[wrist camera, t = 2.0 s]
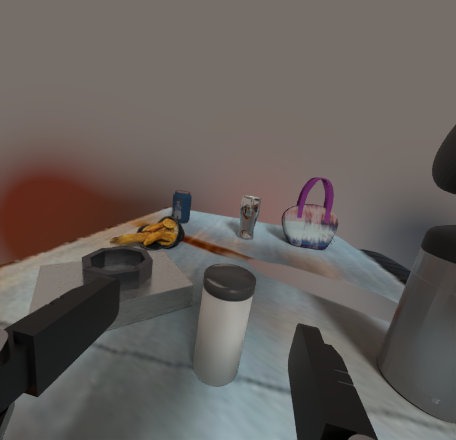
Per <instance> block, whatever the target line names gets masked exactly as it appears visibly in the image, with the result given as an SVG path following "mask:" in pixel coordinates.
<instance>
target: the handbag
mask: <svg viewBox="0 0 456 440" xmlns="http://www.w3.org/2000/svg"><path fill="white" fill-rule="evenodd" d="M320 179H321V180H322V181H323V185H324V189H325V202H324V207H322V206H318V205H313V204H305V201H306V197H307V195H308V193H309V191H310V189H311V188H312V187H313V186H314V184H315V183H316V182H317V181H318V180H320ZM326 180H327V179H325V178H312V179H310V180H309V181H308V182H307V183H306V184H305V186H304V187H303V189H302V191H301V193H300V196H299V199H298V202H297V206H293V207H291V208H289V209H287V210H286V211H285V212H284V213H283V216H282V226H283V231H284V234H285V236H286V238H287V239H288V240H289V242H290V243H291V244H293V245H295V246H299V247H306V248H312V249H318V250H324V249H326V248H327V247H328V245H329V244H330V242H331V241H332V239H333V237H334V235H335V233H336V230H337V227H338V219H337V218H336V216H335V215H334V214H333V213H332V212H331V209H332V204H333V187H332V184H331V182H330V181H329V180H327V181H328V182H327V181H326ZM328 184H329V185H328ZM333 240H334V239H333ZM331 244H332V243H331Z"/></svg>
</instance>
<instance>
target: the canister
mask: <svg viewBox="0 0 456 440" xmlns="http://www.w3.org/2000/svg"><path fill="white" fill-rule="evenodd" d="M255 285H256V278H255V276H254V275H253V274H252V273H251V272H250V271H248V270H247V269H245V268H242V267H240V266H236V265H232V264H216V265H212V266H210V267H208V268H207V269H206V270H205V273H204V280H203V291H202V299H201V306H200V313H199V321H198V328H197V336H196V343H195V351H194V358H193V369H194V372H195V374H196V376H197V377H198V378H199V379H200V380H201V381H202V382H203V383H205V384H207V385H210V386H216V387H219V386H224V385H227V384H229V383H230V382H232V381H233V380H234V378H235V377H236V375H237V372H238V368H239V363H240V358H241V353H242V348H243V343H244V338H245V333H246V328H247V323H248V318H249V313H250V308H251V303H252V298H253V294H254V290H255Z"/></svg>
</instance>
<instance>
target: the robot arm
mask: <svg viewBox="0 0 456 440" xmlns="http://www.w3.org/2000/svg"><path fill="white" fill-rule="evenodd" d="M432 176H433V179H434V181H435V183H436V184H437V186H438V187H440V188H441V189H442V190H444V191H447V192H450V193H453V194H456V125H455V126H454V128H453V129H452V130H451V131H450V133H449V134H448V135H447V137H446V139H445V140H444V142H443V143H442V145H441V146H440V148H439V150H438V152H437V154H436V157H435V159H434V162H433V168H432ZM119 304H120V281H119V280H118V279H114V278H110V277H106V276H100V277H98V278H96V279H95V280H93V281H92V282H90V283H88V284H85V285H82V286H79V287H76V288H74V289H71V290H70V291H68V292H66V293H64V294H63V295H61V296H60V297H59V298H56V299H54V300H53V301H51V302H50V303H49V304H46V305H44V306H43V307H41V308H39V309H38V310H36V311H34V312H32V313H31V314H29V315H27V316H26V317H24V318H22V319H21V320H19V321H17V322H16V323H14V324H12V325H11V326H9V327H7V328H6V329H4V330H3V329H0V440H2V439H3V437H4V434H5V432H6V429H7V426H8V424H9V421H10V419H11V416H12V413H13V411H14V407H15V400H16V399H17V398H18V397H19V396H21V395H22V394H23V393H26V394H29V395H32V396H35V397H39V396H40V395H41V394H42V393H43V392H44V391H45V390H46V389H47V388H48V387H49V386H50V385H51V384H52V383H53V382H54V381H55V380H56V379H57V378H58V377H59V376H60V375H61V374H62V373H63V372H64V371H65V370H66V369H67V368H68V367H69V366H70V365H71V364H72V363H73V362H74V361H75V360H76V359H77V358H78V357H79V356H80V355H81V354H82V353H83V352H84V351H85V350H86V349H87V348H88V347H89V346H90V345H91V344H92V343H93V342H94V341H95V340H96V339H97V338H98V337H99V336H100V335H101V334H103V333H104V332H105V331H106V330H107V329H108V328H109V327H110V326H111V325H112V324H113V322H114V321H115V319H116V318H117V315H118V313H119ZM377 363H378V366H379V369H380V371H381V372H382V374H383V376H384V377H385V378H386V380H387V381H388V382H389V383H390V384H391V385H392V386H393V387H394V388H395V389H396V390H397V391H398V392H399V393H400V394H401V395H402V396H404V397H405V398H406V399H407V400H408V401H410V402H411V403H413V404H414V405H416V406H417V407H418V408H420V409H422V410H423V411H425V412H427V413H429V414H430V415H432V416H435V417H437V418H439V419H441V420H444V421H448V422H451V423H456V225H445V226H436V227H433V228H430V229H429V230H428V231H427V233H426V235H425V237H424V239H423V242H422V244H421V248H420V250H419V252H418V255H417V257H416V260H415V262H414V265H413V268H412V271H411V273H410V276H409V278H408V281H407V283H406V286H405V288H404V291H403V294H402V296H401V299H400V301H399V304H398V307H397V309H396V311H395V314H394V317H393V319H392V322H391V324H390V327H389V329H388V332H387V334H386V337H385V339H384V342H383V344H382V347H381V349H380V352H379V355H378V358H377ZM288 373H289V381H290V388H291V396H292V403H293V411H294V418H295V426H296V433H297V440H378V439H377V436H376V434H375V432H374V429H373V427H372V425H371V423H370V420H369V418H368V416H367V414H366V411H365V409H364V407H363V404H362V402H361V400H360V398H359V395H358V393H357V391H356V389H355V387H354V386H353V382H352V379H351V377H350V375H348V370H347V368H346V366H345V364H344V361H343V359H342V357H341V356H340V355H339V354H338V353H337V351H336V350H335V349H334V348H333V347H332V345H328V344H324V341H323V339H322V336H321V333H320V331H319V329H318V328H316V327H312V326H308V325H304V324H300V323H299V324H298V325H297V327H296V331H295V334H294V338H293V342H292V345H291V349H290V353H289V359H288Z"/></svg>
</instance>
